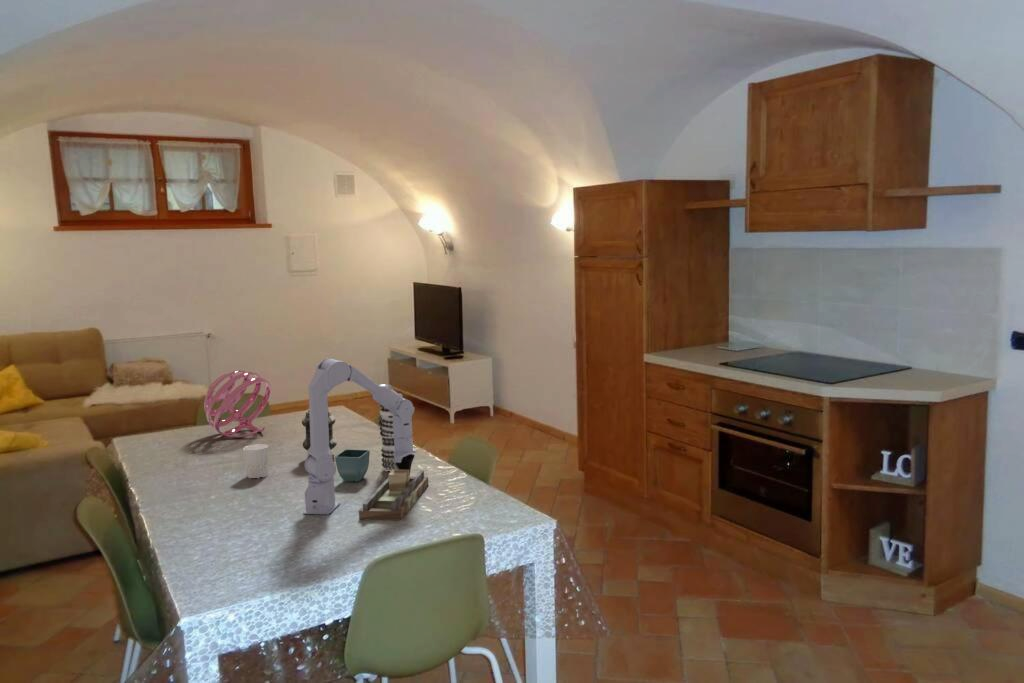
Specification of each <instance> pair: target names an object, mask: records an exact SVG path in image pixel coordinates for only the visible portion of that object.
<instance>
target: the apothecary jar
mask: <svg viewBox="0 0 1024 683" xmlns="http://www.w3.org/2000/svg"><path fill="white" fill-rule="evenodd" d="M335 423H336V417H335V415H334V414H332V412H331V409H330V408H329V407H328V428H329V448H330V450H333V449H335V447H336V446H337V443H338V441H337V439H336V437H334V431H333V430H334V429H333V425H334V424H335ZM301 425H302V426H303V427H304V428H305V438H304V440H303V441H302V447H303V449H304V450H306V452H307V451H308V449H309V448H310V447H311V443H310V415H309V408H308V409H306V411H305V416H303V418H302V420H301ZM334 457H335V454H333V453H332V458H334ZM334 459H335V458H334Z"/></svg>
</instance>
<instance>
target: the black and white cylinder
mask: <svg viewBox="0 0 1024 683" xmlns="http://www.w3.org/2000/svg"><path fill="white" fill-rule="evenodd" d="M379 408H380V410H379V414H380V415H378V420H379V421H378V424H379V431H380V432H379V434H380V438H381V441H382V443H381V449H380V451H381V456H382V458H381V462H382V463H381V466H382V468H381V469H382V471H384V470H385V471H384V472H387V471H390V472H391V471H392V470H393V469H394V470H399V469H398V466H397V465H396V463H395V462H394V456H395V455H394V450H395V448H394V430H393V415H394V414H392V413H390V411H389V410H388V409H387V408H385V407H384V406H382V405H381V404H379ZM396 416H397V415H396ZM390 472H389V473H390Z"/></svg>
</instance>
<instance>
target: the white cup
mask: <svg viewBox="0 0 1024 683" xmlns="http://www.w3.org/2000/svg"><path fill="white" fill-rule="evenodd" d="M242 448H243V449H242V451H243V457H244V465H245V470H246V476H247V478H248V479H251V478H257V479H261V478H260V477H262V478H265V477H267V476H268V475H269V445H268V444H264V443H263V444H262V443H257V444H249V445H247V446H244V447H242Z"/></svg>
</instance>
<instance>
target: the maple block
mask: <svg viewBox="0 0 1024 683" xmlns="http://www.w3.org/2000/svg"><path fill="white" fill-rule="evenodd" d="M388 477H389V490H392V491H403V490H404V489H405V488H406V487H407V485H408V484H409V483H410V477H411V476H409V470H394V469H393V470H392V471H391V472H389V473H388Z"/></svg>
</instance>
